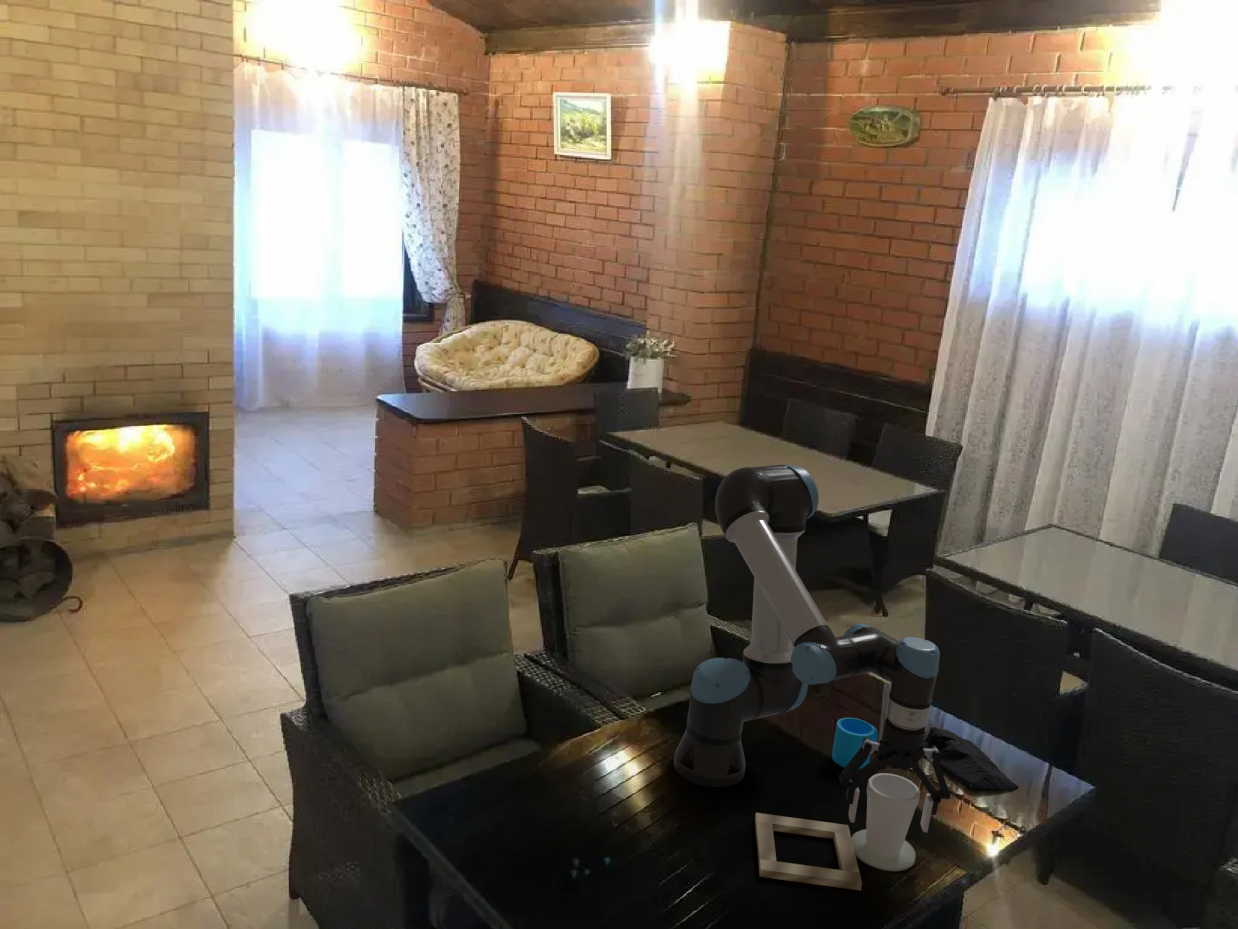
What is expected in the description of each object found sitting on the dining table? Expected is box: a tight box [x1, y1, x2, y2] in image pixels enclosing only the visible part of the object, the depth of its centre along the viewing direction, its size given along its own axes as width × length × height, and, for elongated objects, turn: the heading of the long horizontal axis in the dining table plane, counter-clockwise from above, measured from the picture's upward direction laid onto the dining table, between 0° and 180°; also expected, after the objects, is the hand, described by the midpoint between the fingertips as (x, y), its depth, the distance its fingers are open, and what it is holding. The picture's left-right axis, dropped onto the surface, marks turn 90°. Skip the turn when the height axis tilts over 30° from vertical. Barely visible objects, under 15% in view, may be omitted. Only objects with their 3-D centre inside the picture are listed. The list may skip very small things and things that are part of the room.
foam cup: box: [865, 772, 921, 858], centre depth 193 cm, size 10×9×13 cm
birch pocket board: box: [754, 812, 863, 891], centre depth 192 cm, size 18×18×2 cm
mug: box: [831, 717, 879, 771], centre depth 228 cm, size 12×8×8 cm
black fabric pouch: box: [923, 726, 1019, 791], centre depth 230 cm, size 15×22×5 cm
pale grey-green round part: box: [851, 828, 916, 872], centre depth 195 cm, size 12×12×1 cm
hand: (887, 823), depth 193 cm, fingers open, 13 cm apart
